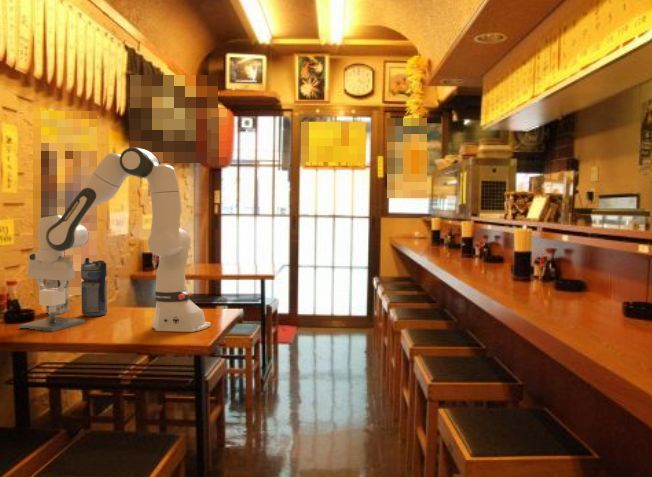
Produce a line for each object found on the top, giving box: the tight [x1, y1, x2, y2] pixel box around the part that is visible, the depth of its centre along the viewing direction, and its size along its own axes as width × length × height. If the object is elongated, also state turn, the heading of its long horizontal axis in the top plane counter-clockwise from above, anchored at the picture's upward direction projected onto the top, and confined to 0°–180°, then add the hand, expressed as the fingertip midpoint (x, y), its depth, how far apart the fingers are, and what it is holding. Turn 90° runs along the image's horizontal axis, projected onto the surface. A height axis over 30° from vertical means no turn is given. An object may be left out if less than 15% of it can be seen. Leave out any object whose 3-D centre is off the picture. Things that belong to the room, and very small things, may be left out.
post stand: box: [19, 305, 86, 333], centre depth 197 cm, size 16×16×12 cm
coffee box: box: [45, 279, 70, 315], centre depth 224 cm, size 9×6×16 cm
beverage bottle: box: [80, 257, 108, 318], centre depth 217 cm, size 10×13×25 cm
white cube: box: [38, 288, 65, 307], centre depth 196 cm, size 6×6×6 cm
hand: (51, 290), depth 196 cm, fingers open, 8 cm apart
